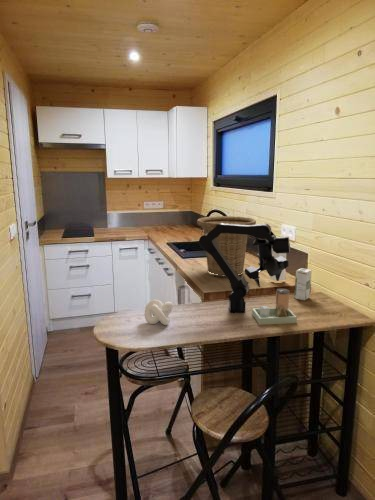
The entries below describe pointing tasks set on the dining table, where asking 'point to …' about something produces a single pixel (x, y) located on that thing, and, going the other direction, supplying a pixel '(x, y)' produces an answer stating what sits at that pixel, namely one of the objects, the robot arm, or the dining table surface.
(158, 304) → the cream knot sculpture
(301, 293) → the syrup box
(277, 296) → the coffee tin
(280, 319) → the tote
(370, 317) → the dining table surface
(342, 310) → the dining table surface
